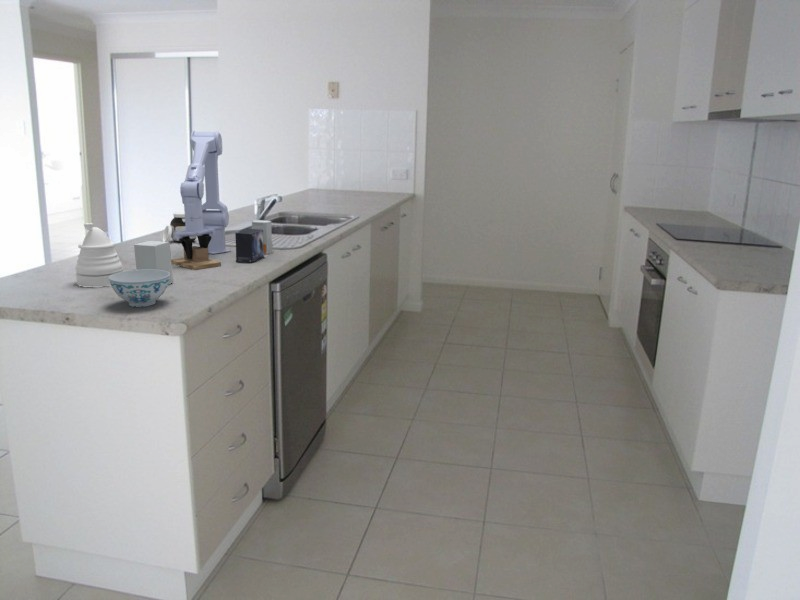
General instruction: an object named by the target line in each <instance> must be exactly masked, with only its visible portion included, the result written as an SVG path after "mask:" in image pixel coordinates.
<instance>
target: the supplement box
mask: <svg viewBox="0 0 800 600" xmlns="http://www.w3.org/2000/svg"><path fill="white" fill-rule="evenodd" d="M133 249H134V256H135V257H134V258H135V268H136V269H135V270H141V269H155V270H164V271H167V272H169V273H170V279H169V283H168V284H169V285H172V284H174V277H173V276H174V275H173V274H174V273H173V264H172V263H171V259H172V254H171V242H170V241H169V242H163V241H159V240H158V241H157V240H147V241H143V242H139V243H134V244H133ZM171 283H172V284H171Z"/></svg>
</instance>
